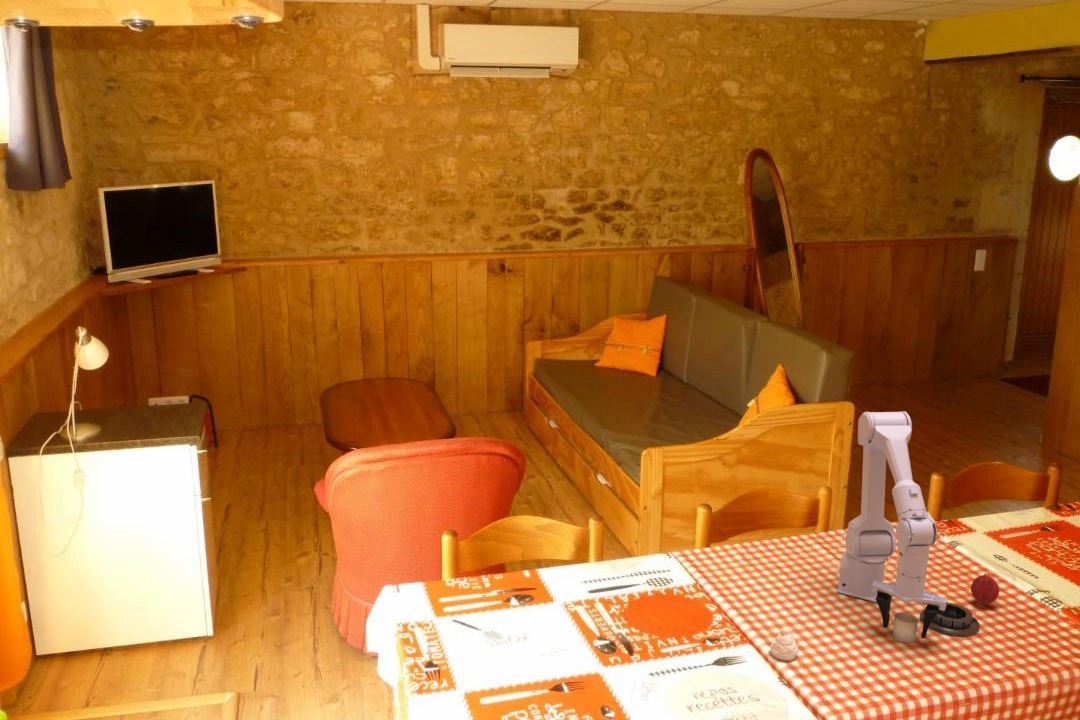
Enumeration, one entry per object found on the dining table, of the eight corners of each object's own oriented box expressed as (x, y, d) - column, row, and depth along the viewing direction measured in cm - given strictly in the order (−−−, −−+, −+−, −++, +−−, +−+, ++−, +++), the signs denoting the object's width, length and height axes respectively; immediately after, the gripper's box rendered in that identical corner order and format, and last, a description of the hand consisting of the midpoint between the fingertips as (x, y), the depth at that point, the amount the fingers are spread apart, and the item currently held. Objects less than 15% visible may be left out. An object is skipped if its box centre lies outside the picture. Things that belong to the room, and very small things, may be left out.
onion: (999, 612, 214) (1004, 579, 212) (972, 609, 215) (976, 576, 213) (993, 599, 219) (997, 567, 217) (966, 597, 220) (970, 565, 219)
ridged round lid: (914, 626, 207) (916, 615, 206) (925, 604, 217) (927, 593, 216) (974, 642, 201) (976, 631, 200) (983, 618, 211) (984, 607, 210)
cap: (890, 639, 202) (892, 618, 201) (895, 629, 206) (897, 609, 205) (913, 645, 200) (915, 624, 198) (917, 635, 203) (920, 615, 202)
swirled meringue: (777, 619, 197) (803, 626, 195) (775, 645, 199) (801, 653, 196) (768, 630, 193) (795, 638, 190) (766, 657, 194) (792, 665, 192)
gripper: (871, 570, 199) (864, 629, 203) (945, 588, 192) (937, 649, 195) (879, 558, 205) (873, 615, 209) (951, 575, 198) (943, 634, 201)
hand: (904, 631), depth 202 cm, fingers open, 7 cm apart
